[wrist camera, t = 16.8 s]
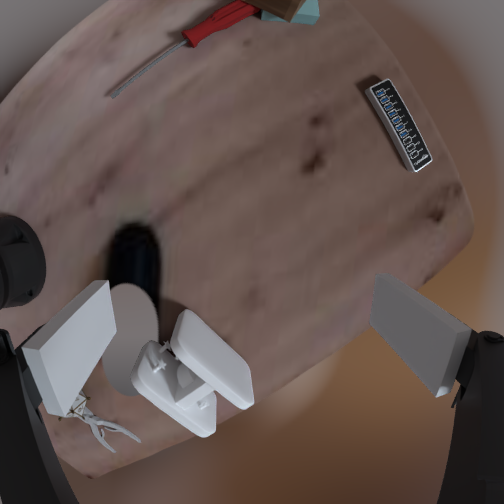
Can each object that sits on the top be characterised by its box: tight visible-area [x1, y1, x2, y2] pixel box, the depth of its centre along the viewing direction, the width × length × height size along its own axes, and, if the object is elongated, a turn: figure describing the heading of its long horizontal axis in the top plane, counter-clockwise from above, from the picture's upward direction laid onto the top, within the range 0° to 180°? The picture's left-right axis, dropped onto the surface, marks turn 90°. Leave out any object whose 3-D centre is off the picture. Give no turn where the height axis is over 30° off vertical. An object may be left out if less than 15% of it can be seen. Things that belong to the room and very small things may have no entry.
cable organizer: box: [130, 309, 254, 437], centre depth 41 cm, size 15×11×12 cm
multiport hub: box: [365, 79, 432, 172], centre depth 40 cm, size 4×14×2 cm, turn 33°
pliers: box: [79, 406, 141, 453], centre depth 49 cm, size 10×2×15 cm
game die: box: [59, 389, 91, 421], centre depth 43 cm, size 9×8×10 cm
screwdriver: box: [111, 0, 261, 99], centre depth 34 cm, size 4×25×4 cm, turn 127°
